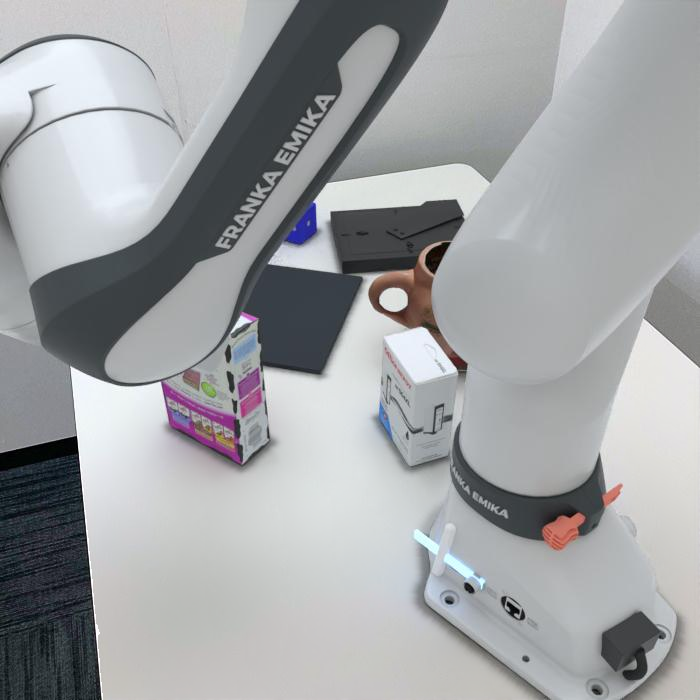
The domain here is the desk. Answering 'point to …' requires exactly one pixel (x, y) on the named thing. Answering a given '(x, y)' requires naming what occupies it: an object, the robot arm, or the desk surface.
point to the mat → (300, 314)
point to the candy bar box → (225, 398)
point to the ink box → (417, 395)
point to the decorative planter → (417, 297)
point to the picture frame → (392, 234)
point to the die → (304, 226)
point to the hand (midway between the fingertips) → (145, 328)
